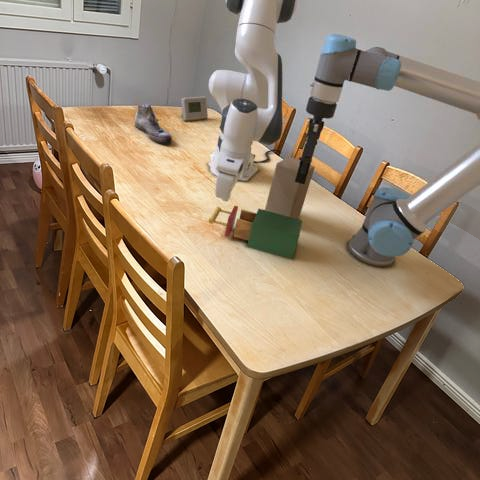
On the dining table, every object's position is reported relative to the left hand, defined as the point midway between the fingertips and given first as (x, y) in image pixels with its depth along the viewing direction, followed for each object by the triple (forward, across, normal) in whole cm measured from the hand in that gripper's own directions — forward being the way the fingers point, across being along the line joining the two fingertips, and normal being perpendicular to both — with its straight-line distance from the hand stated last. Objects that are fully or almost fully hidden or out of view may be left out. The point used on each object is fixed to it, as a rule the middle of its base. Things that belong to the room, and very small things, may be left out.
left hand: (225, 199), depth 135 cm
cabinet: (+11, 0, +17) cm, 21 cm away
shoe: (+11, -63, -48) cm, 79 cm away
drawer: (+10, 0, +6) cm, 12 cm away
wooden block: (+11, -20, +18) cm, 29 cm away
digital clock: (+11, -98, -40) cm, 106 cm away
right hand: (-14, 0, +20) cm, 25 cm away
